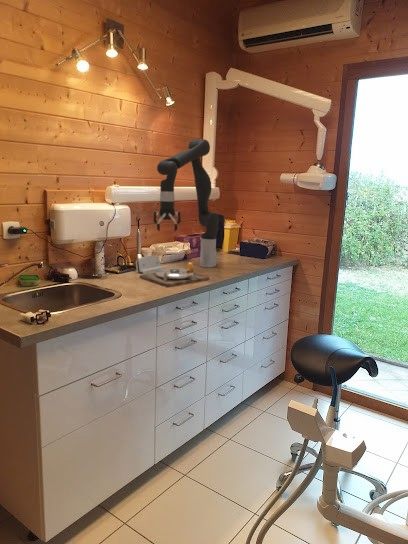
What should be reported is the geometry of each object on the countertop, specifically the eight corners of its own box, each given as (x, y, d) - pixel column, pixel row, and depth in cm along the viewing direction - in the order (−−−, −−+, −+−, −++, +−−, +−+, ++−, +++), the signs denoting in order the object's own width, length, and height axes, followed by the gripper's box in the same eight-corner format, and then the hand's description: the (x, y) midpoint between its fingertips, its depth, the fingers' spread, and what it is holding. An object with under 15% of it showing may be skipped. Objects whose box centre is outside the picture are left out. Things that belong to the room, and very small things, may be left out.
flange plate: (177, 269, 238) (177, 257, 237) (204, 276, 222) (204, 264, 221) (148, 273, 225) (148, 261, 223) (174, 282, 209) (174, 269, 207)
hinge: (142, 274, 232) (138, 256, 232) (137, 275, 235) (133, 258, 236) (164, 270, 245) (160, 253, 245) (158, 271, 248) (154, 255, 248)
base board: (180, 271, 243) (180, 261, 241) (209, 279, 225) (209, 268, 224) (139, 277, 224) (139, 266, 223) (167, 287, 207) (167, 275, 206)
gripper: (180, 200, 226) (180, 230, 230) (153, 199, 225) (153, 230, 228) (181, 200, 219) (180, 232, 223) (153, 200, 217) (153, 231, 221)
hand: (167, 231), depth 226 cm, fingers open, 8 cm apart
